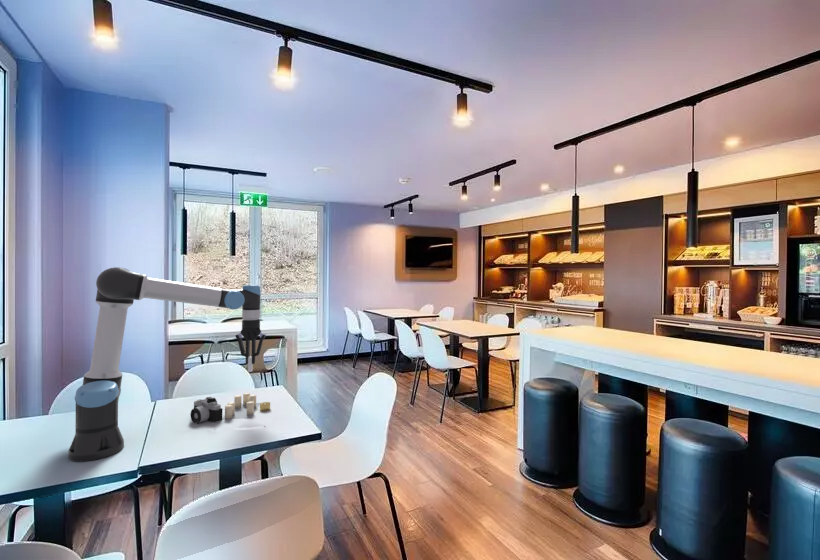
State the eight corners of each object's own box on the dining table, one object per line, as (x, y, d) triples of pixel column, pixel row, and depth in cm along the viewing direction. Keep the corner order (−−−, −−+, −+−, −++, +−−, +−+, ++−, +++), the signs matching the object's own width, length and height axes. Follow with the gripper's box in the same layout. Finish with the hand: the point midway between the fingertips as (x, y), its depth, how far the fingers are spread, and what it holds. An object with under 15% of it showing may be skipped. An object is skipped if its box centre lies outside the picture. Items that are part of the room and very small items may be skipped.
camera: (182, 422, 167) (182, 398, 167) (201, 415, 175) (201, 392, 175) (206, 428, 160) (206, 404, 160) (225, 421, 168) (225, 398, 168)
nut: (269, 411, 178) (269, 404, 178) (258, 411, 178) (259, 405, 178) (271, 408, 183) (271, 401, 183) (261, 408, 182) (261, 401, 182)
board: (251, 420, 170) (251, 406, 170) (221, 421, 168) (221, 407, 168) (260, 404, 189) (260, 392, 189) (233, 406, 187) (233, 393, 187)
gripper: (267, 318, 184) (266, 368, 184) (237, 318, 181) (237, 369, 181) (264, 319, 176) (263, 372, 176) (233, 319, 174) (232, 373, 174)
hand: (250, 371), depth 179 cm, fingers closed
